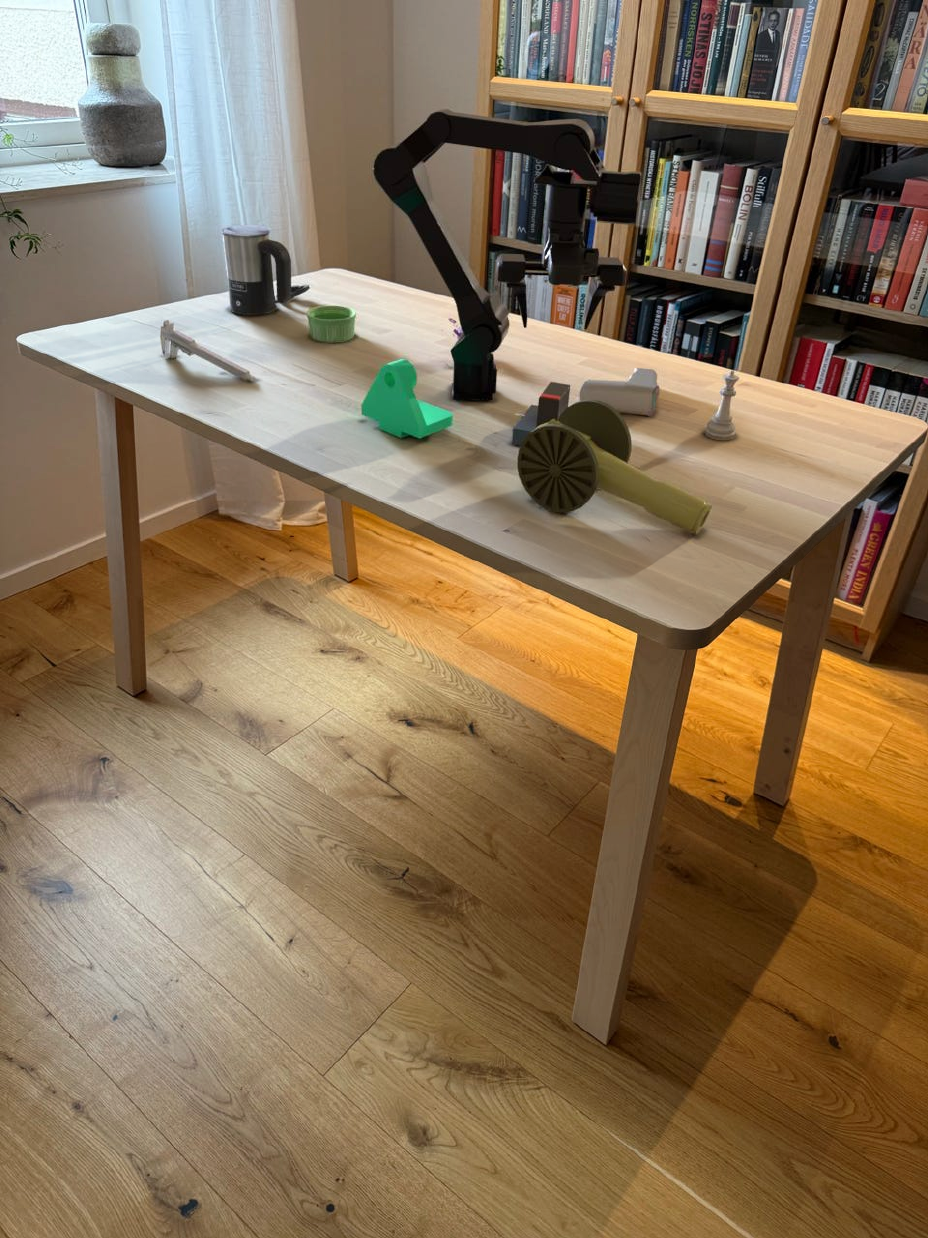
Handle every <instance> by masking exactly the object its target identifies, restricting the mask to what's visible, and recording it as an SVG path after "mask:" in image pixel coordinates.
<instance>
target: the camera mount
mask: <svg viewBox="0 0 928 1238" xmlns="http://www.w3.org/2000/svg"><path fill="white" fill-rule="evenodd" d="M417 382H418V375H417V370H416V369H415V366H414V365H413V363H412V362H410V360H408V359H407V358H406V359H405V358H401V359H398V360H394V361H392V362H388V363H385V364H383V365H381V367H380V368H379V370H378V372H377V374H376V376H375V378H374V379H373V382H372V384H371V385H370V388H369V389H368V392H367V393H366V395H365V398H364V399H363V401H362V403H361V405H360V406H361V407H360V409H361V415H362V416H364V417H367V418H369V419H371V420H374V421H376V422H378V430H381V431H384V432H386V433H388V434H391V435H393V436H394V437H395V436H396V437H398V438H400V439H403V438H405V437H408V436H412V437H415V438H417V439H423V438H424V437H427V436H429V435H432V434H434V433H436V432H440V431H442V430H445V429H447V428H449V427H452V426H453V422H454V421H453V419H454V418H453V417H454V414H453V413H452V412H451V411H448V410H446V409H443V408H440V407H438V406H435V405H432V404H431V403H427V402H424V401H422V400H420V399H418V398H417V396H416V393H415V390H414V388H415V386H416V385H417Z"/></svg>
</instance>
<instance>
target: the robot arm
mask: <svg viewBox="0 0 928 1238" xmlns="http://www.w3.org/2000/svg"><path fill="white" fill-rule="evenodd" d="M595 140H596V139H595V134H594V130H593V129H592V127H591V126H590V125H589V123H587V122H586V121H585V120H583V119H580V118H567V119H565V118H564V119H552V120H544V121H533V122H532V121H531V122H530V121H521V120H514V119H508V118H499V117H494V116H493V117H491V116H484V115H479V114H470V113H463V112H457V111H456V112H455V111H452V110H450V109H449V108H448V109H447V108H443V109H442V108H441V109H439V110H436V111H434V112H432V113H430V114H429V116H428V117H427V118H426V120H425V121H424V122H423V123H422V124H421V125H420V126H419V127H418V128H416V129H415V130H414V131H412V133H410V134H409V135H408V136H407V137H406V138H404V140H403V141H401V142H398V143H396V144H393V145H391V146H389V147H387V148H385V149H383V150H381V151H380V152H379V153H378V154H377V155H376V158H375V159H374V162H373V168H372V173H373V177H374V180H375V182H376V183H377V185H378V187H380V189H381V190H382V191H383V192H384V193H385V195H386V196H387V198H388V199H389V200H390V202H392V203H393V204H394V205H395V206H396V207H397V208H399V209H400V210H401V211H402V212H403V213H404V214H405V215H406V216H407V218H408V219H409V221H410V224H412V227H413V228H414V230H415V232H416V234H417V235H418V237H419V239H420V241H421V242H422V244H423V246H424V248H425V249H426V251H427V254H428V256H429V257H430V258H431V260H432V262H433V264H434V267H435V268H436V269H437V271H438V273H439V275H440V277H441V279H442V281H443V282H444V284H445V286H446V288H447V290H448V291H449V293H450V295H451V297H452V298H453V300H454V302H455V304H456V305H455V306H456V310H457V315H458V321H459V325H460V329H461V328H462V331H463V334H462V335H461V337H460V338H459V339H457V340H456V342H455V344H454V345H453V346H452V347H451V349H450V355H451V358H452V361H453V375H452V383H451V396H452V400H455V401H457V400H458V401H487V402H489V401H490V402H491V401H492V402H493V400H494V394H496V393H497V378H498V366H497V364H496V363H495V357H494V353H495V352H496V351H497V350H498V349H499V348H500V346H501V345H502V343H503V341H504V340H505V338H506V337H507V335H508V333H509V330H510V319H509V315H510V313H511V312H510V310H509V309H507V307H506V306H505V305H504V303H503V301H502V298H501V295H500V293H499V291H498V290H497V289H495V290H494V291H493V292H491V293H489V292H488V291H487V290H486V289H484V288H483V287H482V285H481V284H480V283H479V281H478V280H477V278H476V276H475V274H474V272H473V270H472V268H471V267H470V265H469V262H468V261H467V259H466V257H465V256H464V253H463V251H462V250H461V248H460V246H459V244H458V242H457V241H456V238H455V237H454V235H453V233H452V231H451V229H450V227H449V226H448V224H447V222H446V220H445V218H444V216H443V214H442V213H441V211H440V209H439V207H438V205H437V204H436V201H435V199H434V197H433V196H434V195H433V191H432V190H433V189H432V185H431V181H430V177H429V176H430V175H429V174H428V170H427V168H426V165H425V163H426V162H427V161H429V159H431V158H432V157H433V156H434V155H435V154H436V153H437V152H438V151H439V150H440V149H441V148H442V147H443V146H444V145H445V144H450V145H458V146H465V147H472V148H478V149H485V150H486V149H487V150H493V151H500V152H507V153H514V154H521V155H524V156H528V157H530V158H532V159H535V160H536V161H538V162H540V163H543V164H546V165H545V167H544V169H543V170H542V172H540V173H539V174H537V176H536V177H535V178H534V179H533V183H534V184H536V185H545V186H547V190H546V191H547V193H546V204H545V215H544V216H545V217H544V227H543V239H542V240H543V241H542V253H541V261H526V259H525V256H524V254H522V253H521V254H519V253H500V254H499V255H498V256H497V257H496V264H495V265H496V266H495V275H496V279H497V282H500V283H505V287H506V288H508V289H512V290H513V292H514V295H515V297H516V300H517V303H518V307H519V312H520V317H521V321H522V325H523V328H524V329H526V328H527V327H528V302H527V301H528V300H527V283H526V280H525V278H526V276H543V277H545V276H547V277H548V278H547V279H548V282H549V284H550V285H552V286H560V285H571V286H572V287H579V286H581V285H582V284H583V280H584V278H590V281H589V286H588V292H587V297H586V303H585V308H584V314H583V324H582V326H583V327H582V328H583V331H585V330H588V328H589V326H590V323H591V321H592V319H593V317H594V314H595V312H596V310H597V308H598V307H599V304H600V303H601V301H602V299H603V298H604V296H606V295H607V293H609V292H614V291H616V287H624V286H626V280H627V279H626V278H627V268H626V266H625V265H624V263H623V262H622V260H621V259H620V258H619V257H612V256H611V257H607V256H600V250H599V248H598V247H597V248H596V247H585V246H584V233H585V226H586V225H585V223H586V216H587V215H586V214H587V213H586V212H587V203H588V195H589V193H588V192H589V189H591V197H590V205H589V214H590V215H592V217H593V218H596V223H601V224H602V223H604V224H614V225H615V224H616V225H627V226H637V224H638V219H639V218H638V217H639V214H640V213H639V212H640V207H641V206H640V205H641V199H642V194H641V185H642V176H643V174H642V172H641V171H627V172H625V171H624V172H623V171H615V170H613V171H612V170H606V167H605V166H604V164H603V163H604V162H603V161H602V160H601V158H600V156H599V154H598V153H597V150H596V148H595V143H596V141H595ZM553 167H555V168H557V169H560V170H555V169H554V168H553ZM576 175H577V176H578V177H579V178H575V177H576Z"/></svg>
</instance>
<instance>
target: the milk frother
mask: <svg viewBox="0 0 928 1238" xmlns="http://www.w3.org/2000/svg"><path fill="white" fill-rule="evenodd" d="M220 233H221V235H222V241H223V251H224V259H225V266H226V267H225V268H226V275H227V284H228V296H229V306H228V309H229V311H230V312H232V313H235V314H238V315H245V316H246V315H247V316H248V315H249V316H258V315H265V314H269V313H273V312H274V311H276V310H277V307H278V306H277V304H286V303H288V302H289V301H291V300H293V299H294V298H295V297H298V296H300V295H302V294H305V293H306V292H307V291H309V290H310V288H311V287H310V285H309V284H303V285H298V284H296V285H295V284H293V285H292V259H291V258H292V257H291V255H290V252H289V250H288V249H287V248H286V246H285V245H284V244H283V243H281V242H280V241H277V240H274V239H273V240H272V239H270V233H271V229H270V228H269V227H267V226H262V225H250V224H247V225H246V224H245V225H244V224H241V225H232V226H228V227H223V228H222V229H221V230H220ZM272 257H273V259H274V263H275V279H276V280H275V281H276V282H275V283H276V284H275V285H276V295H275V287H274V286H275V285H274V273H273V262H272Z"/></svg>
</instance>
